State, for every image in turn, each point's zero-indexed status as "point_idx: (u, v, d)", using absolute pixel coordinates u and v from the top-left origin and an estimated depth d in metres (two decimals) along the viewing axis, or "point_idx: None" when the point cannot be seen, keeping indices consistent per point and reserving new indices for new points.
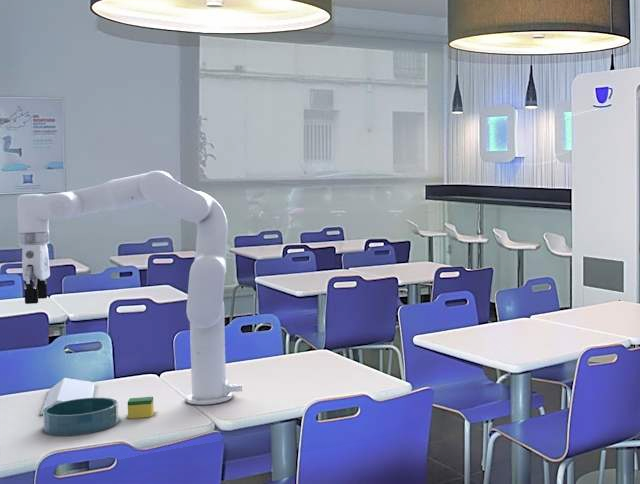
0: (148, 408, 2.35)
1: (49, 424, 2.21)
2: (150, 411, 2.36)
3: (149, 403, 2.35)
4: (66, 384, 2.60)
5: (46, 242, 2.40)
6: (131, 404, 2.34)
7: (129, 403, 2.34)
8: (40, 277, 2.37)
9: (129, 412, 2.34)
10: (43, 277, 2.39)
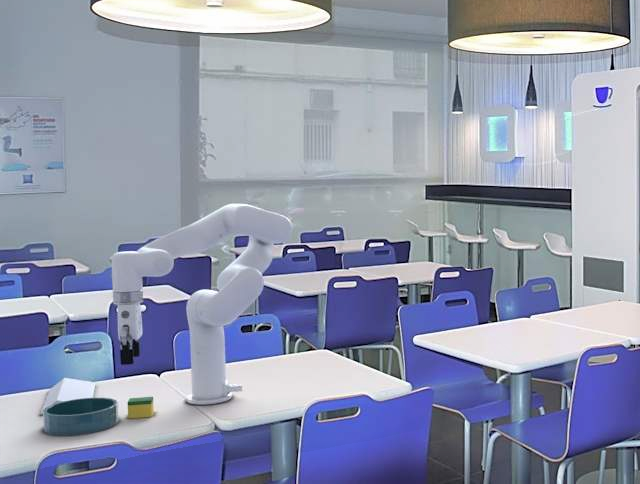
0: (148, 408, 2.35)
1: (49, 424, 2.21)
2: (150, 411, 2.36)
3: (149, 403, 2.35)
4: (66, 384, 2.60)
5: (140, 301, 2.36)
6: (131, 404, 2.34)
7: (129, 403, 2.34)
8: (136, 337, 2.32)
9: (129, 412, 2.34)
10: (138, 337, 2.34)
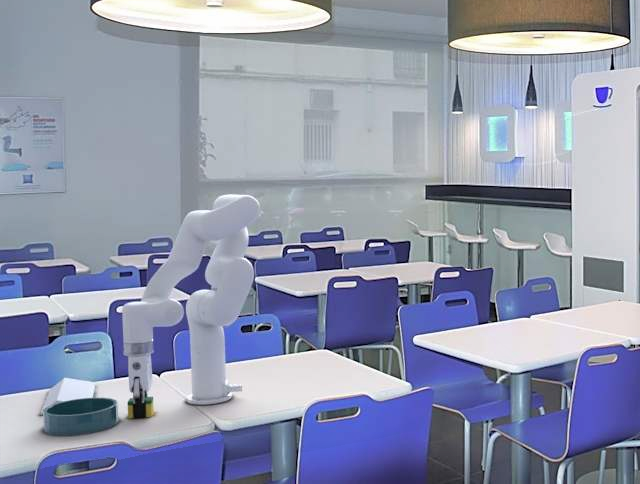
0: (148, 408, 2.35)
1: (49, 424, 2.21)
2: (150, 411, 2.36)
3: (149, 403, 2.35)
4: (66, 384, 2.60)
5: (151, 351, 2.36)
6: (131, 404, 2.34)
7: (129, 403, 2.34)
8: (146, 389, 2.33)
9: (129, 412, 2.34)
10: (149, 388, 2.34)
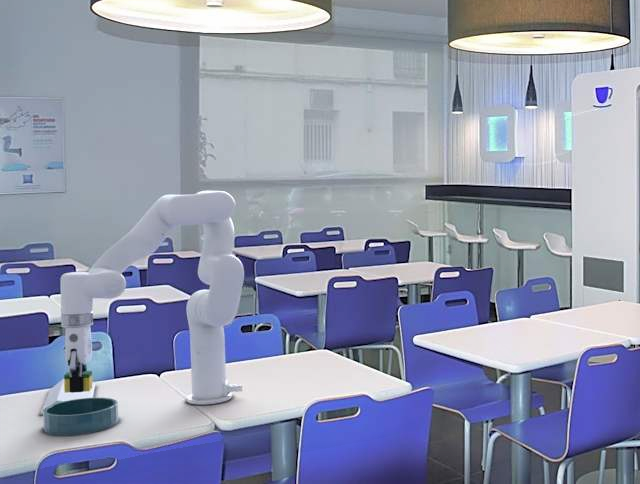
0: (85, 382, 2.27)
1: (49, 424, 2.21)
2: (88, 385, 2.27)
3: (87, 377, 2.27)
4: None
5: (90, 324, 2.27)
6: (68, 378, 2.26)
7: (66, 377, 2.26)
8: (84, 362, 2.24)
9: (66, 385, 2.26)
10: (87, 361, 2.26)
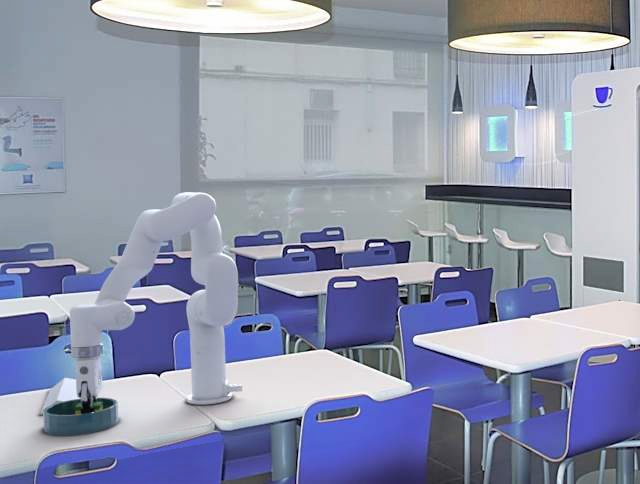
0: None
1: (49, 424, 2.21)
2: None
3: (98, 408, 2.29)
4: (66, 384, 2.60)
5: (100, 355, 2.29)
6: (79, 409, 2.28)
7: (77, 408, 2.28)
8: (95, 394, 2.26)
9: None
10: (97, 393, 2.28)
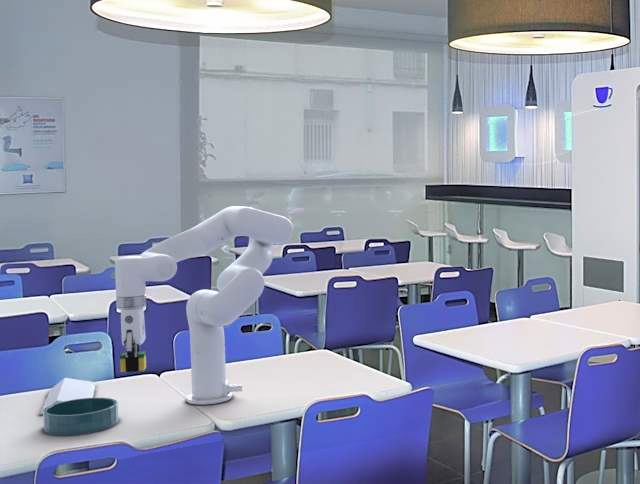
0: (140, 362, 2.35)
1: (49, 424, 2.21)
2: (142, 365, 2.36)
3: (141, 357, 2.35)
4: (66, 384, 2.60)
5: (144, 306, 2.36)
6: (123, 358, 2.34)
7: (121, 357, 2.34)
8: (139, 342, 2.33)
9: (122, 365, 2.34)
10: (141, 342, 2.34)
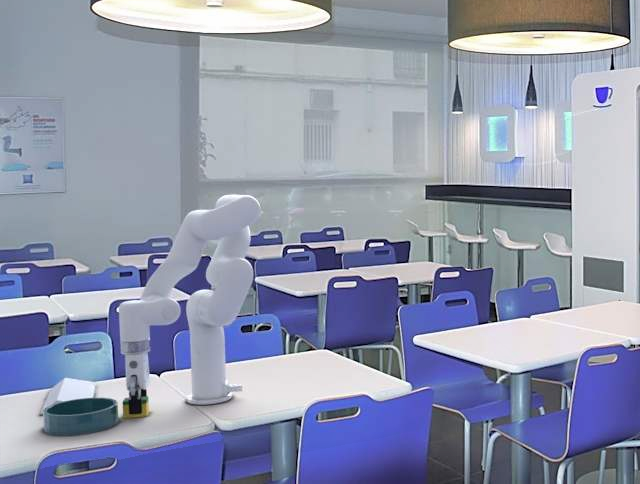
0: (143, 407, 2.36)
1: (49, 424, 2.21)
2: (145, 411, 2.36)
3: (144, 403, 2.36)
4: (66, 384, 2.60)
5: (148, 350, 2.36)
6: (126, 404, 2.35)
7: (124, 403, 2.35)
8: (144, 387, 2.33)
9: (124, 411, 2.35)
10: (146, 386, 2.35)
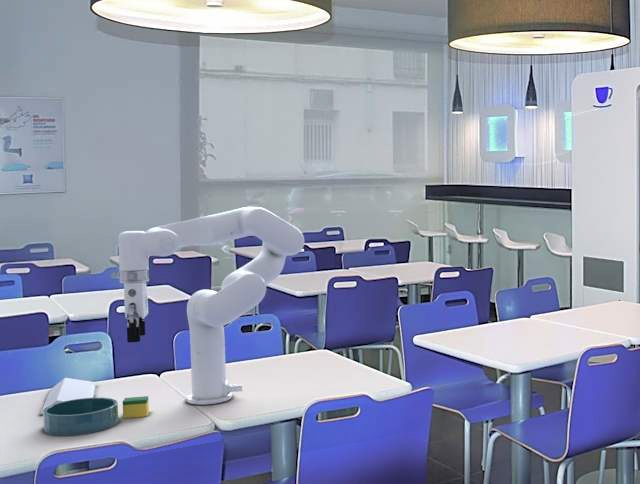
0: (143, 407, 2.36)
1: (49, 424, 2.21)
2: (145, 411, 2.36)
3: (144, 403, 2.36)
4: (67, 384, 2.60)
5: (147, 280, 2.39)
6: (126, 404, 2.35)
7: (124, 403, 2.35)
8: (142, 315, 2.35)
9: (124, 411, 2.35)
10: (144, 315, 2.37)
